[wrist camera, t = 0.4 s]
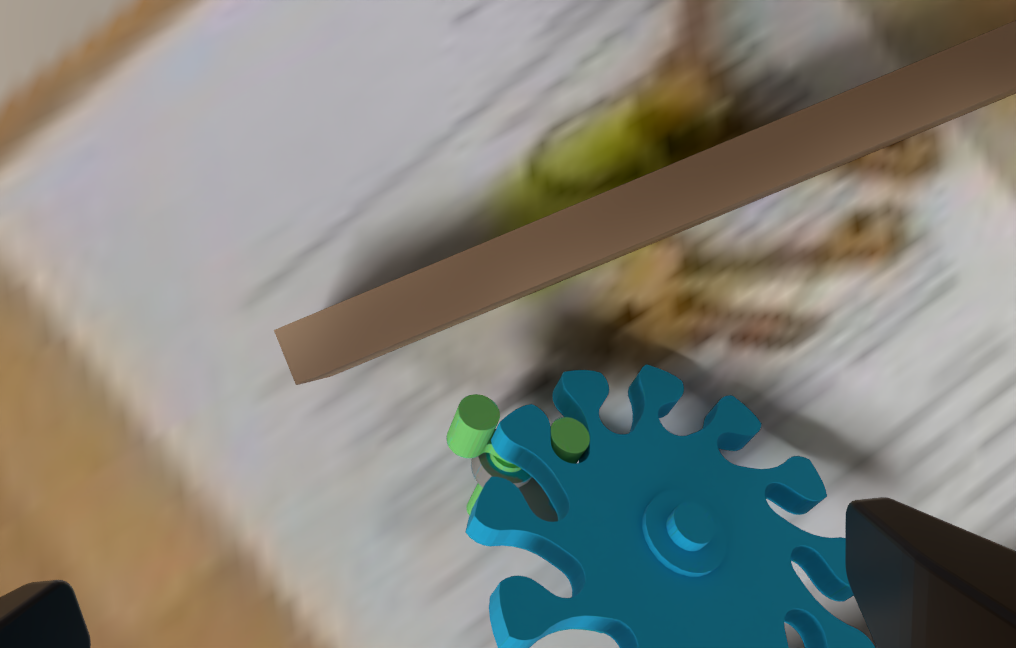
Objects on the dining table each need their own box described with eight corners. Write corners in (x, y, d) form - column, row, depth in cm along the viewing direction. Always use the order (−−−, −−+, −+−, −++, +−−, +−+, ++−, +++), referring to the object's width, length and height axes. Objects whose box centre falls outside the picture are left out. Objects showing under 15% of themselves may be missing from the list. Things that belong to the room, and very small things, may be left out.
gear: (923, 500, 19) (848, 909, 13) (796, 587, 24) (689, 927, 17) (572, 271, 21) (344, 519, 15) (514, 390, 26) (316, 624, 19)
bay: (1444, 487, 20) (1601, 516, 17) (517, 839, 21) (514, 923, 18) (1212, -47, 21) (1327, -110, 18) (310, 329, 22) (273, 330, 19)
